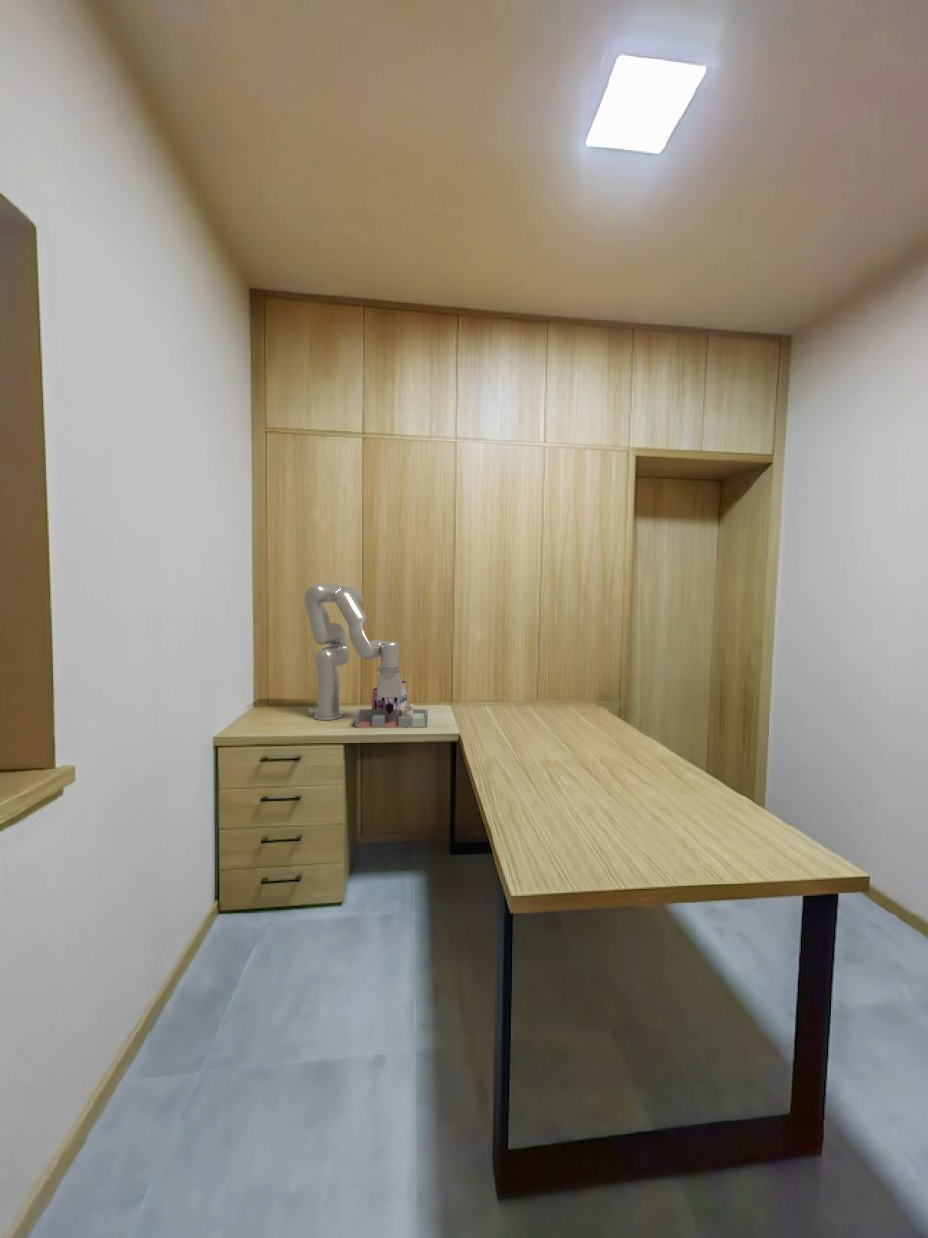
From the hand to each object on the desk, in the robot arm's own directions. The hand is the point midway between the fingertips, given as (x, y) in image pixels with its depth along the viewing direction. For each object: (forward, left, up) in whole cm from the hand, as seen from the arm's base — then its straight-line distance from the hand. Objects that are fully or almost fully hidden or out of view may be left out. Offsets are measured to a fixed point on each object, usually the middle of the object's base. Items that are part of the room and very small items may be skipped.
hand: (389, 712), depth 210 cm
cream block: (+8, 0, -1) cm, 8 cm away
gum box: (-2, +18, -6) cm, 19 cm away
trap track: (+1, 0, -5) cm, 5 cm away
